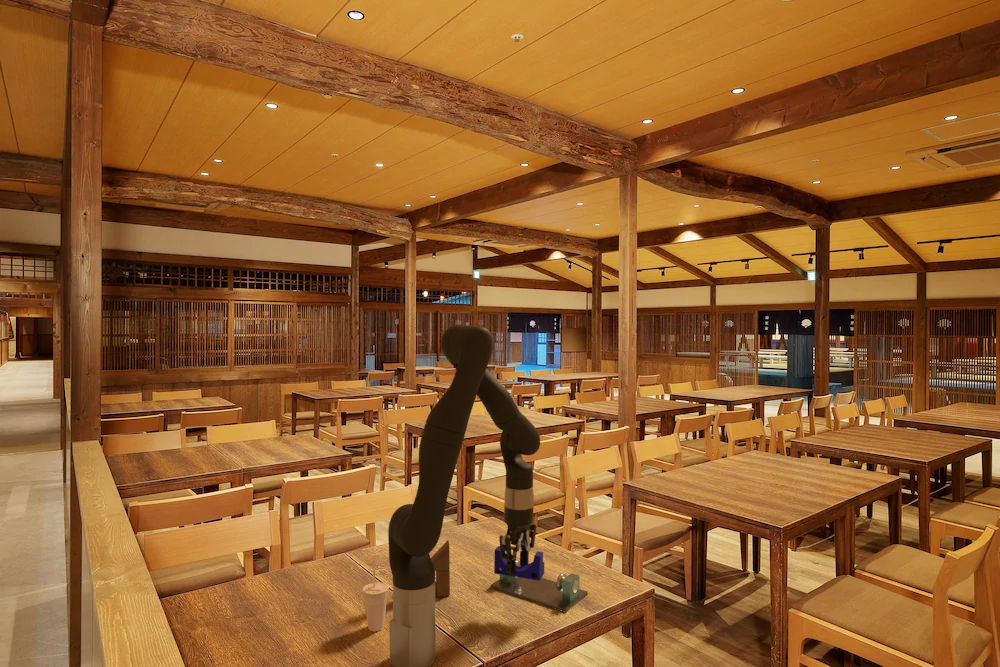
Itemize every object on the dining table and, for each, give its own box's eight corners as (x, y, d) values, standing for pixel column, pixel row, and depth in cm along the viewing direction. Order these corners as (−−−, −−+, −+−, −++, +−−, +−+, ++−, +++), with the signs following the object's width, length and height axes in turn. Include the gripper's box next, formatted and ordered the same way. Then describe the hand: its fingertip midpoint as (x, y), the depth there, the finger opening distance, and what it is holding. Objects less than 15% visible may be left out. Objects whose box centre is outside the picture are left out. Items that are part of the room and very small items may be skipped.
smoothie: (378, 618, 140) (377, 562, 140) (394, 626, 136) (394, 569, 136) (356, 628, 135) (356, 571, 135) (373, 637, 131) (373, 578, 131)
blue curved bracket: (544, 573, 143) (544, 550, 144) (539, 580, 139) (540, 556, 139) (500, 566, 147) (500, 543, 147) (494, 573, 143) (494, 549, 143)
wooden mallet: (449, 596, 152) (449, 530, 151) (409, 599, 150) (409, 532, 150) (449, 590, 155) (448, 525, 155) (409, 593, 154) (409, 527, 153)
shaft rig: (565, 612, 142) (565, 587, 142) (490, 587, 157) (490, 564, 157) (587, 594, 152) (587, 570, 152) (514, 572, 166) (514, 550, 166)
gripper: (515, 513, 136) (514, 583, 135) (545, 500, 147) (544, 564, 147) (490, 507, 140) (489, 575, 140) (522, 495, 152) (520, 558, 151)
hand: (517, 569), depth 143 cm, fingers closed on blue curved bracket, 5 cm apart
